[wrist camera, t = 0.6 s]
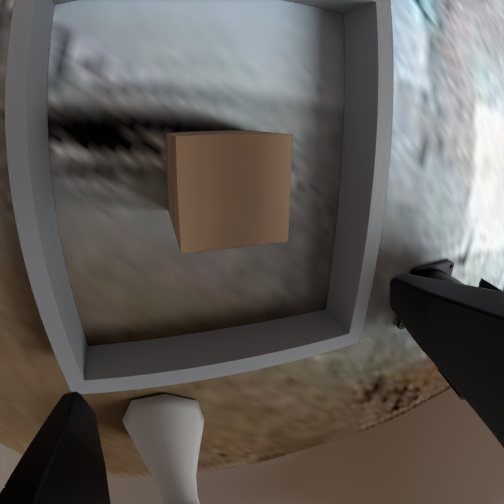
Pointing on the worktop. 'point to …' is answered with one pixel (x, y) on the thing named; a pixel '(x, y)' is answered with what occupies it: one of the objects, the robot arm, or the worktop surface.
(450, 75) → the worktop surface
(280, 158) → the walnut block
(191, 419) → the flask
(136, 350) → the grey rimmed tray
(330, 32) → the worktop surface
